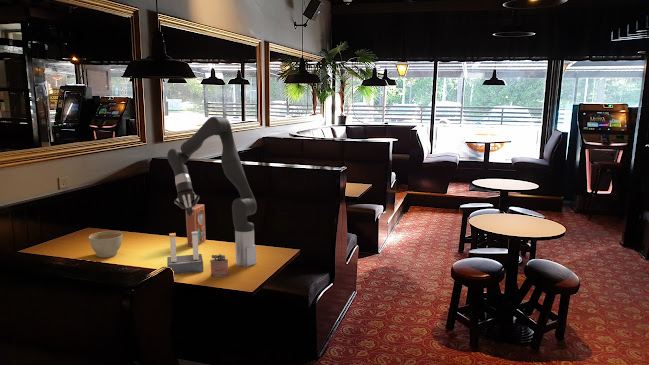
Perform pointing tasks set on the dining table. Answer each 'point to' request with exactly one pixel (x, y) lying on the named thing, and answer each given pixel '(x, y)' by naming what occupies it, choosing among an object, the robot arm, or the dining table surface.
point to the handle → (195, 245)
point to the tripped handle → (173, 247)
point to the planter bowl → (106, 243)
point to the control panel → (196, 224)
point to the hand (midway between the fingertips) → (190, 215)
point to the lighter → (219, 266)
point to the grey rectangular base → (186, 264)
